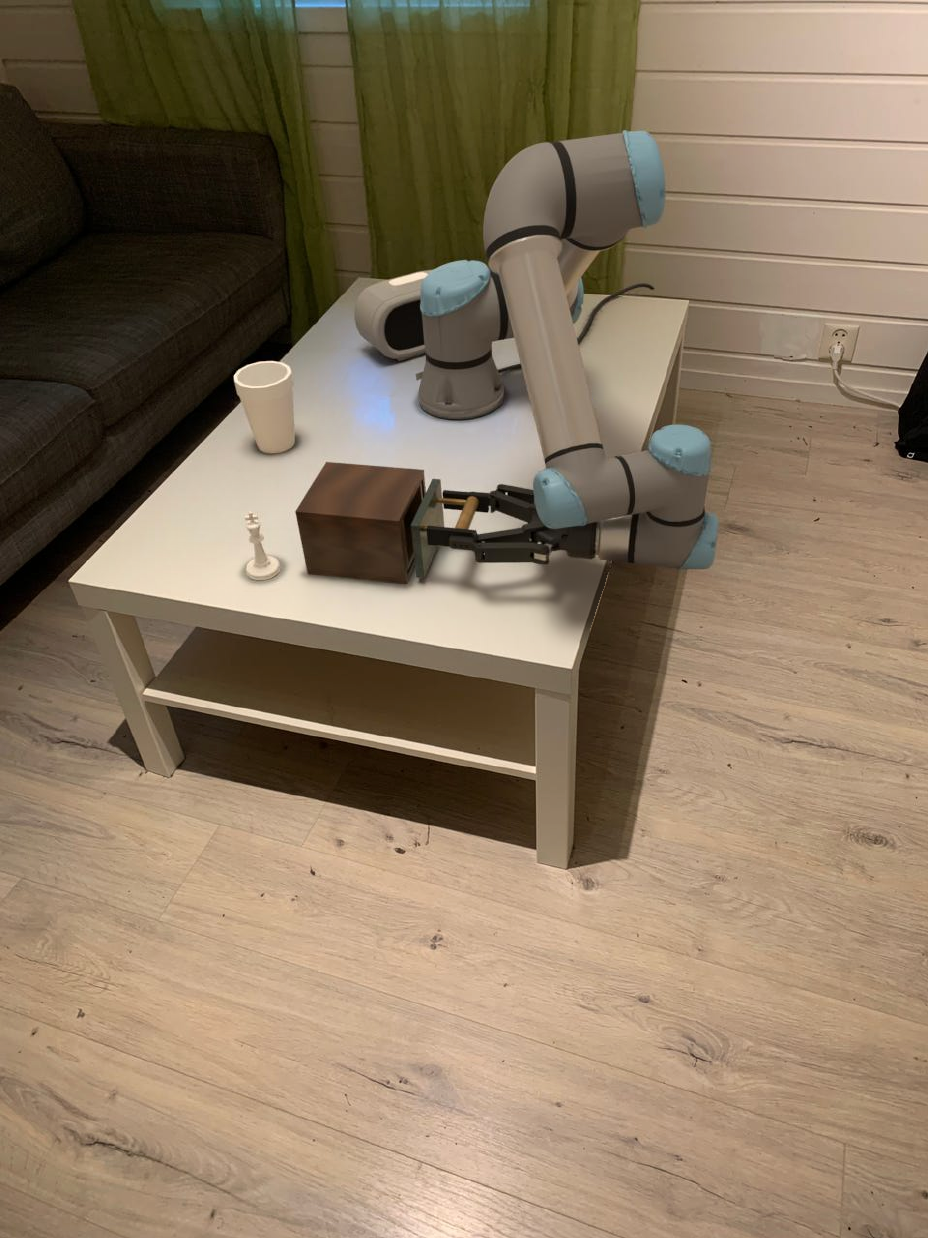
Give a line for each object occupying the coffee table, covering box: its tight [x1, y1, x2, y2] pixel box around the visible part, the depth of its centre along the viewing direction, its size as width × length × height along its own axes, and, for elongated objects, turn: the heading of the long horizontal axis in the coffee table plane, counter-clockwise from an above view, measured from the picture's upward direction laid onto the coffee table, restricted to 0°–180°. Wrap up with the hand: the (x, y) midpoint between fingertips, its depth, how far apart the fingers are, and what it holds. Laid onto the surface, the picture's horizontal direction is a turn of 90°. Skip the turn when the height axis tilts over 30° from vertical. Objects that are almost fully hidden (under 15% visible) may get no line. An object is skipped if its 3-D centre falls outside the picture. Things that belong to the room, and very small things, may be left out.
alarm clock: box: [353, 269, 434, 362], centre depth 193 cm, size 21×10×13 cm, turn 120°
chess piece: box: [244, 511, 281, 581], centre depth 142 cm, size 5×5×10 cm
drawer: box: [402, 478, 479, 579], centre depth 142 cm, size 20×12×9 cm, turn 77°
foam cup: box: [233, 360, 296, 454], centre depth 168 cm, size 10×9×13 cm
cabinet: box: [294, 461, 427, 585], centre depth 143 cm, size 15×13×11 cm
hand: (436, 516), depth 140 cm, fingers closed on drawer, 8 cm apart
